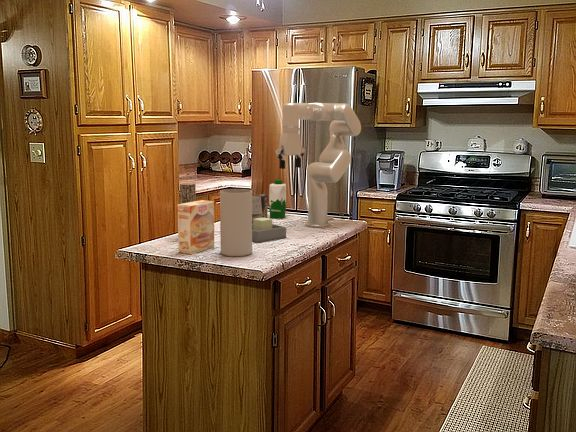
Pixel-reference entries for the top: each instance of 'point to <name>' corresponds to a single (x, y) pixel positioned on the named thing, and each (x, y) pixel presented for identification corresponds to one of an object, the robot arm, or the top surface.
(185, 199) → the bark textured wooden post
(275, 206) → the milk carton
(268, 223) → the pale yellow block
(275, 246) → the top surface
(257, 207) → the coffee box
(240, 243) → the cylinder vase
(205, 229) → the coffeecake box
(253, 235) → the tub
